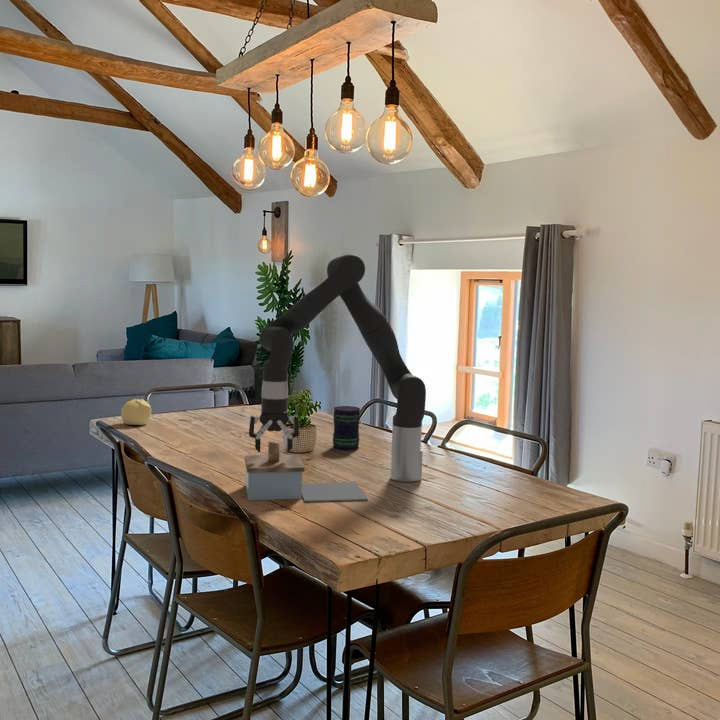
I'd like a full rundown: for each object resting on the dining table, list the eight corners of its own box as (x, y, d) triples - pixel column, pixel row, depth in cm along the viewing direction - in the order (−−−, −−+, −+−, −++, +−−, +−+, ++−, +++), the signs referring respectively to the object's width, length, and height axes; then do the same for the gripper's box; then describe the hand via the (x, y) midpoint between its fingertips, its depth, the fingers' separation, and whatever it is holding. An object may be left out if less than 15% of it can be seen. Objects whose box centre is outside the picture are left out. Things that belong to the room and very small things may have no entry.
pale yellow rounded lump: (154, 426, 316) (154, 400, 315) (125, 428, 310) (125, 401, 309) (147, 421, 326) (147, 395, 324) (118, 423, 320) (118, 397, 318)
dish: (295, 484, 233) (296, 458, 233) (301, 498, 219) (302, 471, 218) (245, 485, 230) (245, 459, 230) (248, 500, 216) (248, 472, 215)
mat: (355, 483, 237) (355, 482, 237) (367, 500, 219) (367, 499, 219) (297, 485, 233) (297, 483, 233) (304, 502, 215) (304, 500, 215)
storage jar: (358, 451, 281) (360, 411, 280) (331, 450, 282) (332, 410, 280) (359, 445, 291) (360, 406, 290) (333, 444, 292) (334, 405, 290)
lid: (297, 458, 233) (298, 436, 232) (304, 471, 218) (305, 448, 217) (244, 459, 230) (244, 437, 229) (247, 472, 214) (247, 448, 214)
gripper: (297, 394, 227) (296, 448, 228) (249, 394, 224) (248, 448, 226) (300, 398, 219) (299, 454, 221) (250, 398, 217) (249, 454, 218)
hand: (273, 451), depth 223 cm, fingers open, 8 cm apart
